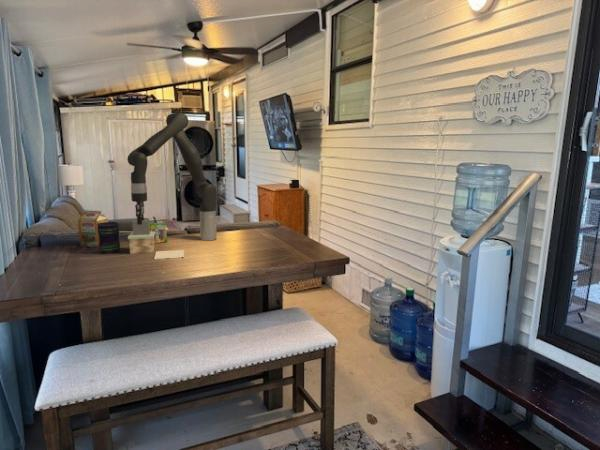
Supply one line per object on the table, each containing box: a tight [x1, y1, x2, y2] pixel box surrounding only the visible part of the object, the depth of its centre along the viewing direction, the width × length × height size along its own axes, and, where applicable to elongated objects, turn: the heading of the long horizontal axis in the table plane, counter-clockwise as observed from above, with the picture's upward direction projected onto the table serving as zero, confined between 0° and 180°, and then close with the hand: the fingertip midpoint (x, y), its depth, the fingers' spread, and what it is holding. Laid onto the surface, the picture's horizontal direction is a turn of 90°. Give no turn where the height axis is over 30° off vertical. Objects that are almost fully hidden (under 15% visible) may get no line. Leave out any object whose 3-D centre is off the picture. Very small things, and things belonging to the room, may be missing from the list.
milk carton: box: [77, 209, 109, 248], centre depth 222 cm, size 11×11×19 cm
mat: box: [153, 249, 185, 260], centre depth 204 cm, size 14×14×1 cm
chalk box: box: [149, 216, 168, 244], centre depth 231 cm, size 9×9×15 cm
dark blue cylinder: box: [98, 221, 121, 255], centre depth 207 cm, size 10×10×15 cm
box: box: [128, 237, 155, 255], centre depth 210 cm, size 11×11×8 cm
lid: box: [127, 219, 155, 240], centre depth 209 cm, size 12×12×9 cm
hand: (140, 222), depth 208 cm, fingers open, 8 cm apart
